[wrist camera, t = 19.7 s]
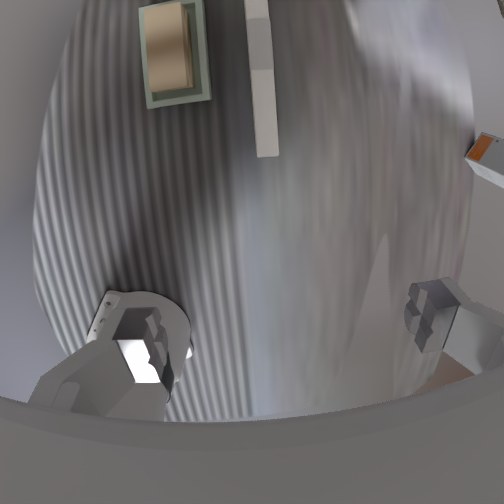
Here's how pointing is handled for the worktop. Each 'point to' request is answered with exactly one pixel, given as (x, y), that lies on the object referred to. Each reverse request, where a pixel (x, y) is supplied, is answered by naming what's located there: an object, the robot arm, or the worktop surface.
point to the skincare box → (488, 158)
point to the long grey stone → (501, 6)
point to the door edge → (262, 77)
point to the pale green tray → (202, 89)
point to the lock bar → (169, 48)
